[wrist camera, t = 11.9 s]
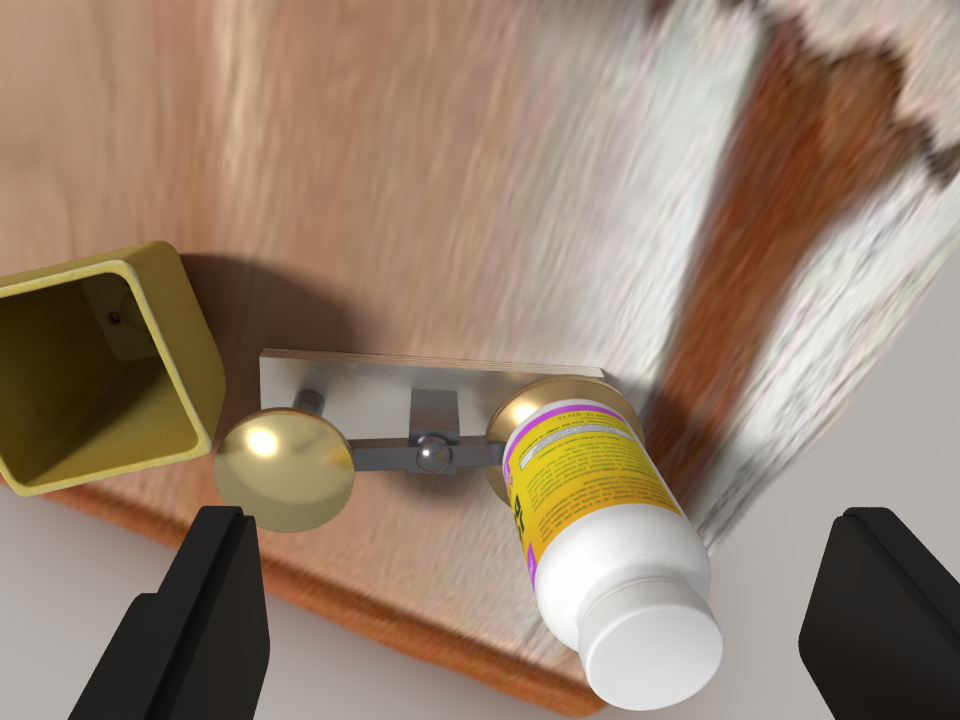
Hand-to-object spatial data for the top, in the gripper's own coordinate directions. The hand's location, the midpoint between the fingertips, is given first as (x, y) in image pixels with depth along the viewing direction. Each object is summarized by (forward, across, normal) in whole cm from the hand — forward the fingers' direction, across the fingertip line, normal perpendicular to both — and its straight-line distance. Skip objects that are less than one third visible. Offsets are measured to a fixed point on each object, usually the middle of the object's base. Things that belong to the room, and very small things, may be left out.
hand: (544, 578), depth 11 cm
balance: (+26, +2, +10) cm, 28 cm away
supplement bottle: (+21, -4, +11) cm, 24 cm away
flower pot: (+26, +17, +6) cm, 31 cm away
